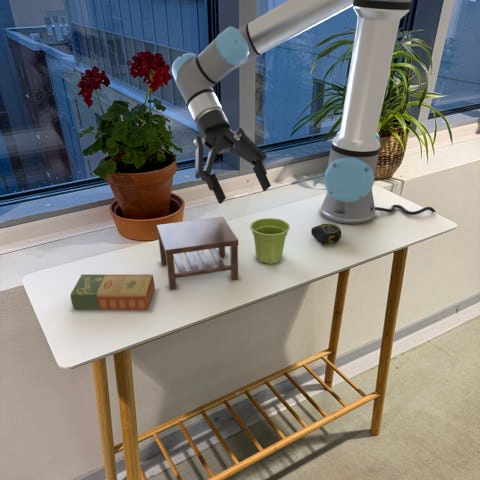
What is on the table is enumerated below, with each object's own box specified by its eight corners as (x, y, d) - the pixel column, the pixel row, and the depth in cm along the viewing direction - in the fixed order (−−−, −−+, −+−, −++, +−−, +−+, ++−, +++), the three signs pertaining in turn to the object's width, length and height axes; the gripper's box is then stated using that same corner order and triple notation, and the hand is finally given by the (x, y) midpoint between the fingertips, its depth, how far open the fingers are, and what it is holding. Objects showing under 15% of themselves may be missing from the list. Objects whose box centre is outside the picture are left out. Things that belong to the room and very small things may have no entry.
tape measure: (309, 237, 129) (310, 224, 127) (332, 234, 131) (334, 221, 129) (320, 249, 124) (322, 235, 122) (344, 245, 126) (346, 231, 123)
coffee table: (224, 253, 122) (223, 216, 116) (238, 279, 112) (238, 240, 106) (160, 262, 118) (156, 224, 112) (169, 290, 108) (165, 250, 102)
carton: (148, 311, 101) (146, 294, 99) (72, 310, 102) (68, 293, 99) (155, 289, 108) (153, 273, 106) (84, 289, 109) (80, 272, 106)
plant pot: (243, 253, 122) (243, 221, 117) (277, 246, 125) (278, 215, 120) (259, 270, 115) (260, 237, 110) (294, 263, 118) (297, 230, 113)
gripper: (243, 119, 128) (277, 190, 127) (160, 134, 117) (196, 213, 116) (256, 101, 122) (292, 176, 121) (169, 115, 110) (208, 199, 109)
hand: (245, 194), depth 118 cm, fingers open, 13 cm apart
